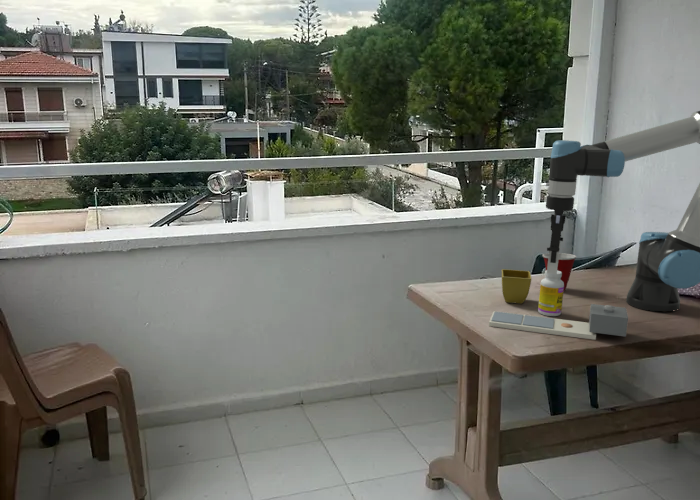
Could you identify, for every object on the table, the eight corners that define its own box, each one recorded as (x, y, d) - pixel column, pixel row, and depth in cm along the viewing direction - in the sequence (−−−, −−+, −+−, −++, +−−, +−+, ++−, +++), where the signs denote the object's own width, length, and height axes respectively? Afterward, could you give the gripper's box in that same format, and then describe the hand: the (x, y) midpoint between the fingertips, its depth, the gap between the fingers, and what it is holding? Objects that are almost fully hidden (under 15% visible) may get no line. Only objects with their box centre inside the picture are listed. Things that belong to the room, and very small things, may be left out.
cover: (623, 325, 177) (626, 303, 175) (625, 336, 168) (628, 313, 167) (588, 321, 180) (591, 299, 178) (589, 331, 171) (591, 309, 170)
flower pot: (529, 306, 197) (531, 278, 195) (500, 304, 199) (502, 276, 197) (527, 298, 205) (529, 271, 203) (499, 296, 207) (501, 269, 205)
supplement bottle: (557, 318, 187) (562, 275, 184) (535, 314, 190) (538, 272, 187) (563, 312, 192) (567, 270, 189) (541, 308, 196) (545, 267, 193)
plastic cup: (559, 283, 222) (563, 249, 220) (579, 292, 212) (583, 257, 210) (532, 285, 219) (535, 251, 216) (551, 295, 209) (555, 259, 206)
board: (594, 327, 180) (595, 322, 180) (595, 339, 171) (596, 334, 170) (493, 314, 189) (493, 310, 188) (488, 325, 179) (489, 320, 179)
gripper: (548, 189, 196) (541, 256, 201) (544, 200, 173) (536, 276, 178) (574, 191, 193) (566, 259, 198) (574, 203, 170) (565, 280, 175)
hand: (552, 267), depth 188 cm, fingers open, 13 cm apart
